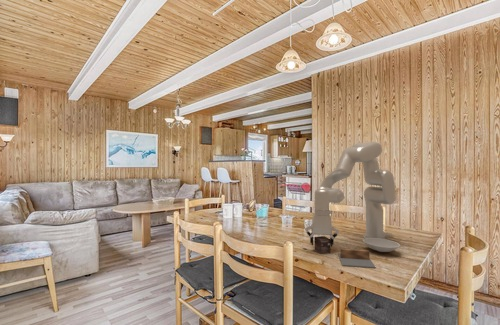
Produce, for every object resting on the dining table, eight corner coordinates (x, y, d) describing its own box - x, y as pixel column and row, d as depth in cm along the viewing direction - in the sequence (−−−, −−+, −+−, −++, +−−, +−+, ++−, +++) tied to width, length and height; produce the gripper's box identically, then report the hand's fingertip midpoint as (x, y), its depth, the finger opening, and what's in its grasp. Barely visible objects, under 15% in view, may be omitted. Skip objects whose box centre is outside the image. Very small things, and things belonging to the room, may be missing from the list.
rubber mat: (367, 256, 125) (367, 255, 125) (375, 268, 112) (375, 267, 112) (338, 254, 128) (338, 253, 128) (342, 266, 115) (342, 264, 115)
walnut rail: (368, 258, 121) (368, 250, 121) (369, 259, 120) (369, 251, 120) (340, 256, 124) (340, 248, 124) (340, 257, 123) (340, 249, 123)
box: (320, 254, 129) (320, 240, 129) (314, 250, 135) (314, 236, 135) (330, 253, 131) (330, 239, 131) (324, 249, 136) (324, 235, 136)
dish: (401, 251, 133) (401, 241, 133) (399, 260, 121) (399, 249, 121) (365, 244, 143) (365, 236, 142) (360, 252, 131) (360, 243, 131)
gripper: (338, 212, 134) (337, 244, 134) (305, 210, 138) (304, 241, 138) (340, 215, 127) (340, 248, 127) (305, 213, 130) (305, 246, 131)
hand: (321, 245), depth 132 cm, fingers open, 9 cm apart
